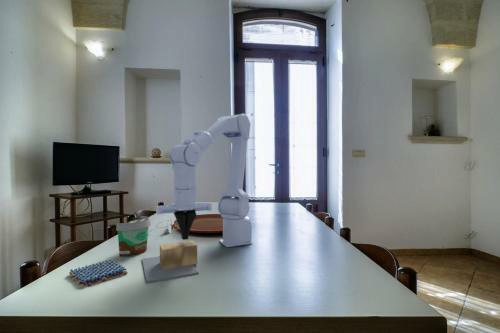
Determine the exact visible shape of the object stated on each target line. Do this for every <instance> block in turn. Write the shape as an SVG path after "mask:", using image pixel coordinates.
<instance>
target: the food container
mask: <svg viewBox="0 0 500 333" xmlns="http://www.w3.org/2000/svg"><path fill="white" fill-rule="evenodd" d="M151 225H152V223H151V219H150V217H149V216H146V215H145V216H144V215H140V217H139V219H136V220H135V219H134V220H129V221H127V222H124V223H123V222H122V223H121V222H118V223H117V225H116V226H115V227H116V230H115V231H117V242H118V254H119V257H122V258H123V257H135V256H139V255H141V254H144V253H146V252H147V249H148V248H147V247H148V237H149V236H148V235H149V234H148V233H149V227H150V226H151Z"/></svg>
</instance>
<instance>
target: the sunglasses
mask: <svg viewBox="0 0 500 333" xmlns="http://www.w3.org/2000/svg"><path fill="white" fill-rule="evenodd" d="M163 222H166V220H165V221H163ZM163 222H158V224H157V225H156V227H158V226H159V224H162V223H163ZM174 222H175V218H174V216H172V217H171V219H168V220H167V224H166V225H165V226H162V227H158V228H156V227H155V228H156V229H155V228H154V231H155V230H158V229H163V228H167V229H168V230H167V231H168V233H169V234H171V233H172V225H173V224H174ZM152 231H153V229H152V230H150V232H152ZM150 232H148V235H149V233H150Z"/></svg>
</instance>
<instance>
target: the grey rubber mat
mask: <svg viewBox="0 0 500 333" xmlns="http://www.w3.org/2000/svg"><path fill="white" fill-rule="evenodd" d="M141 261H142V266H143V272H144V275H145V281H146V282H145V283H146V284H149V283H155V282H156V283H157V282H161V281H165V280H171V279H178V278H182V277H188V276H194V275H199V271H198V269H197V268H196V266H195V264H194V265H188V266H181V267H175V268H169V269H163V270H162V267H161V265H160V255H157V256H154V257H153V256H151V257H145V258H142V259H141Z"/></svg>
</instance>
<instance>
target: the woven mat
mask: <svg viewBox="0 0 500 333" xmlns="http://www.w3.org/2000/svg"><path fill="white" fill-rule="evenodd" d="M128 273H129V272H128V271H127V268H126V267H125V266H123V265H121V264H120V263H118V262H116V261H114V260H112V259H109V260H105V261H102V262H101V261H100V262H98V263H97V262H96V263H95V264H94V263H91V264H90V265H84V266H82V267H80V266H79V267H77V268H74V269H72V268H71V269H70V271H69V272H68V274H69V275H68V277H70V279H71V280H72V281H75V282H76V284H77V285H78V287H79V288H86V287H90V286H92V285H96V284H99V283H102V282H105V281H109V280H111V279H114V278H118V277H122V276H125V275H127V274H128Z"/></svg>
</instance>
